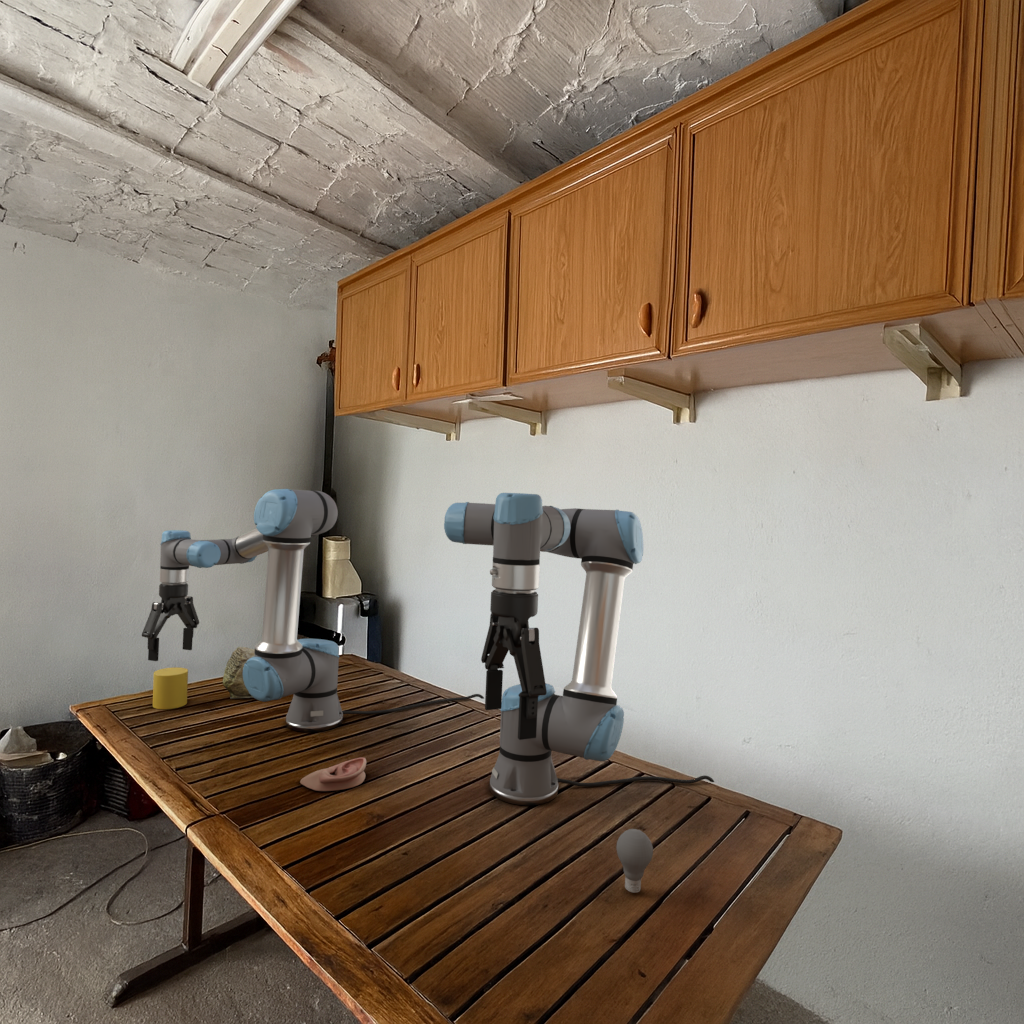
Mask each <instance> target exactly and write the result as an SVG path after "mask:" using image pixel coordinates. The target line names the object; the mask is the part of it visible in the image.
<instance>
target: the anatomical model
mask: <svg viewBox="0 0 1024 1024" xmlns="http://www.w3.org/2000/svg"><path fill="white" fill-rule="evenodd" d="M366 766H367V759H366V757H361V756H360V757H356V758H352V759H349V760H345V761H343V762H340V763H337V764H335V765H332V766H329V767H327V768H321V769H318V770H316V771H315V770H314V771H313V772H311V773H309V774H307V775H305V776H303V777H302V778H301V779H300V781H299V783H300V785H302V786H304V787H305V788H307V789H310V790H313V791H316V792H331V791H332V792H333V791H340V790H346V789H351V788H355V787H357V786H359V785H361V784H362V783H363V782H365V779H366V772H365V769H366Z"/></svg>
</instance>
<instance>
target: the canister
mask: <svg viewBox="0 0 1024 1024" xmlns="http://www.w3.org/2000/svg"><path fill="white" fill-rule="evenodd" d="M152 679H153V680H152V708H154V709H157V710H173V709H178V708H181V707H184V706H185V705H187V703H188V685H189V669H188V668H186V667H179V666H178V667H176V666H175V667H165V668H160V669H157V670H155V671H153V677H152Z"/></svg>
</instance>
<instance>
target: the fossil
mask: <svg viewBox="0 0 1024 1024" xmlns="http://www.w3.org/2000/svg"><path fill="white" fill-rule="evenodd" d="M254 653H255V648H251V647H247V646H246V647H245V646H238V647H237V648H236V649H235V650H233V651H232V653H231V656H230V657H229V659H228V660H227V663H226V666H225V668H224V671H223V675H222V676H223V677H222V685H223V687H224V688H225V690H226V691H228V693H229V698H230V699H250V698H254V697H253V696H252V695H251V694H250V693H249V691H248V690H247V688H246V686H245V684H244V680H243V667H244V664H245V663H246V662H247V660H249V659H250V658H252V657H254Z"/></svg>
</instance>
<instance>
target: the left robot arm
mask: <svg viewBox="0 0 1024 1024" xmlns="http://www.w3.org/2000/svg"><path fill="white" fill-rule="evenodd" d="M338 513H339V511H338V506H337V503H336V502H335V500H334V498H332V497H331V495H329V494H327V493H326V492H323V491H320V490H313V489H312V490H309V489H293V488H292V489H290V488H280V489H279V488H277V489H271V490H268V491H266V492H265V493H264V494H263V496H261V497H260V498H259V499H258V501H257V502H256V505H255V508H254V512H253V522H254V525H255V526H256V527H255V528H254V529H251V530H249V531H247V532H245V533H243V534H240V535H238V536H236V537H234V538H233V537H232V538H223V539H222V538H220V539H219V538H218V539H192V537H191V532H190V531H188V530H181V529H169V530H168V529H167V530H164V531H163V532H162V533H161V541H160V555H159V556H160V558H159V559H160V560H159V562H160V563H159V582H160V584H159V586H158V596H159V598H161V601H160V602H155V601H154V602H152V603H151V609H150V612H149V615H148V617H147V620H146V622H145V625H144V627H143V630H142V633H141V637H142V638H145V639H147V650H148V651H147V661H151V662H159V655H160V654H159V652H160V651H159V650H160V649H159V648H160V637H158V636H159V634H160V632H161V631H162V629H163V627H164V626H165V624H166V622H167V621H168V619H170V618H171V617H172V616H175V615H177V616H178V618H179V619H180V620H181V622H182V623H183V625H184V626H185V627H183V630H182V631H183V632H182V650H183V651H184V650H185V651H192V650H193V638H194V629H197V628H198V625H199V624H200V619H199V617H198V614H197V610H196V608H195V605H194V597H193V596H190V595H189V584H188V582H189V580H190V566H191V567H195V568H198V569H203V568H204V569H209V568H212V567H214V566H222V565H233V564H234V565H235V564H236V565H237V564H247V563H251V562H253V561H255V560H256V558H257V557H258V556H260V555H262V554H264V553H267V563H266V564H267V565H266V576H265V592H264V604H263V605H264V606H263V618H262V620H263V621H262V630H261V631H262V632H261V640H259V641H258V642H257V643H256V644H255V645H254V649H255V653H254V657H252V658H250V659H249V660H247V662H246V663H245V664H244V667H243V680H244V684H245V686H246V688H247V690H248V691H249V693H250V694H251V695H252V696H253V697H252V698H254V699H255V700H257V701H259V702H265V703H266V702H272V701H277V700H280V699H282V698H285V697H288V696H291V695H292V696H293V697H292V699H291V702H290V704H289V708H288V711H287V713H286V715H285V726H286V728H287V729H289V730H291V731H294V732H295V731H296V732H301V733H316V732H325V731H329V730H332V729H335V728H337V727H339V726H340V725H342V723H343V722H344V715H377V714H387V713H394V712H401V711H405V710H409V709H413V708H418V707H423V706H427V705H433V704H439V703H446V702H454V701H465V700H470V699H473V698H480V699H482V700H485V696H483V695H482V694H481V693H473V694H471V695H468V696H460V697H450V698H449V697H448V698H442V699H433V700H430V701H424V702H420V703H414V704H411V705H406V706H402V707H396V708H388V709H381V710H380V709H379V710H343V709H342V706H341V702H340V699H339V695H338V682H339V662H340V654H339V645H338V643H336V642H335V641H333V640H328V639H321V638H299V639H298V631H299V630H298V628H299V616H300V605H301V591H302V579H303V566H304V565H303V564H304V552H305V551H304V550H305V549H306V548H307V547H308V546H309V545H311V540H312V538H313V537H316V536H318V535H321V534H324V533H327V532H328V531H329V530H331V529H332V528H333V527H334V526H335V524H336V522H337V521H338V520H337V519H338V515H339V514H338Z"/></svg>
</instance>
